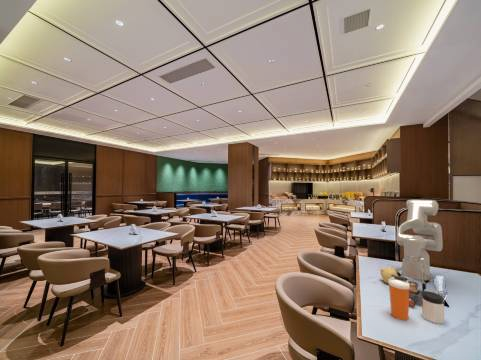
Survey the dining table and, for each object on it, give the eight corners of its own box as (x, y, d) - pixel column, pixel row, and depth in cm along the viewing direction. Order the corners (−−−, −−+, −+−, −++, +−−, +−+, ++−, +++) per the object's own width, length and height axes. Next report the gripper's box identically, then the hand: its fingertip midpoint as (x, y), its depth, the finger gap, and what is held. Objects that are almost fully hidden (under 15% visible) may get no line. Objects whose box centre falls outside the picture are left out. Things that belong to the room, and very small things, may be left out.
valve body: (403, 294, 132) (403, 285, 132) (426, 301, 124) (426, 291, 124) (397, 303, 121) (397, 294, 121) (422, 312, 112) (422, 301, 113)
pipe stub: (408, 297, 128) (408, 280, 128) (419, 300, 124) (418, 283, 125) (407, 299, 124) (406, 282, 125) (417, 303, 121) (417, 285, 121)
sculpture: (394, 280, 151) (394, 265, 152) (406, 288, 139) (405, 271, 140) (378, 279, 152) (377, 264, 153) (388, 287, 141) (387, 270, 141)
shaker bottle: (412, 323, 102) (411, 282, 103) (389, 317, 107) (388, 277, 108) (409, 314, 109) (408, 275, 110) (388, 309, 114) (387, 272, 115)
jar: (448, 321, 104) (447, 297, 104) (440, 326, 100) (439, 300, 101) (426, 312, 112) (425, 289, 112) (418, 316, 108) (417, 292, 109)
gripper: (432, 260, 122) (433, 290, 121) (395, 253, 134) (396, 280, 134) (430, 263, 116) (431, 294, 116) (393, 256, 129) (393, 284, 129)
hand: (412, 287), depth 125 cm, fingers open, 9 cm apart
